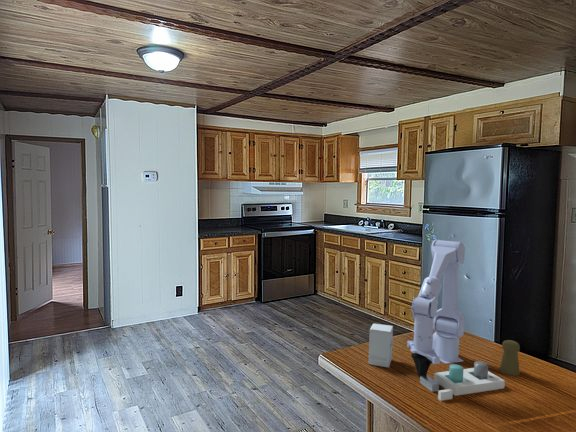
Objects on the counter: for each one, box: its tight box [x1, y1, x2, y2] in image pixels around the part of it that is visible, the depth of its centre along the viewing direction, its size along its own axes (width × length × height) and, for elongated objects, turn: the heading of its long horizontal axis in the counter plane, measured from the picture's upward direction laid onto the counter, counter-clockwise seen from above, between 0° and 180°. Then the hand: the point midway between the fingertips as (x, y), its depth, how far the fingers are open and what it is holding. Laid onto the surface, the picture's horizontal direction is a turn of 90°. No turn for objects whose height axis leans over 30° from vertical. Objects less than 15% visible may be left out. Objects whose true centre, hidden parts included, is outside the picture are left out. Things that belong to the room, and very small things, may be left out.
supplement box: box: [368, 323, 394, 368], centre depth 145 cm, size 7×7×13 cm
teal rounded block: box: [448, 363, 465, 383], centre depth 127 cm, size 4×4×6 cm
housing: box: [433, 367, 506, 396], centre depth 128 cm, size 10×18×3 cm, turn 106°
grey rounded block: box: [473, 360, 489, 380], centre depth 129 cm, size 4×4×6 cm
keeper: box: [437, 389, 454, 403], centre depth 119 cm, size 1×4×3 cm, turn 106°
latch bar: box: [419, 374, 440, 393], centre depth 126 cm, size 6×2×3 cm, turn 16°
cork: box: [499, 339, 521, 377], centre depth 137 cm, size 6×6×11 cm
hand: (421, 377), depth 130 cm, fingers closed
